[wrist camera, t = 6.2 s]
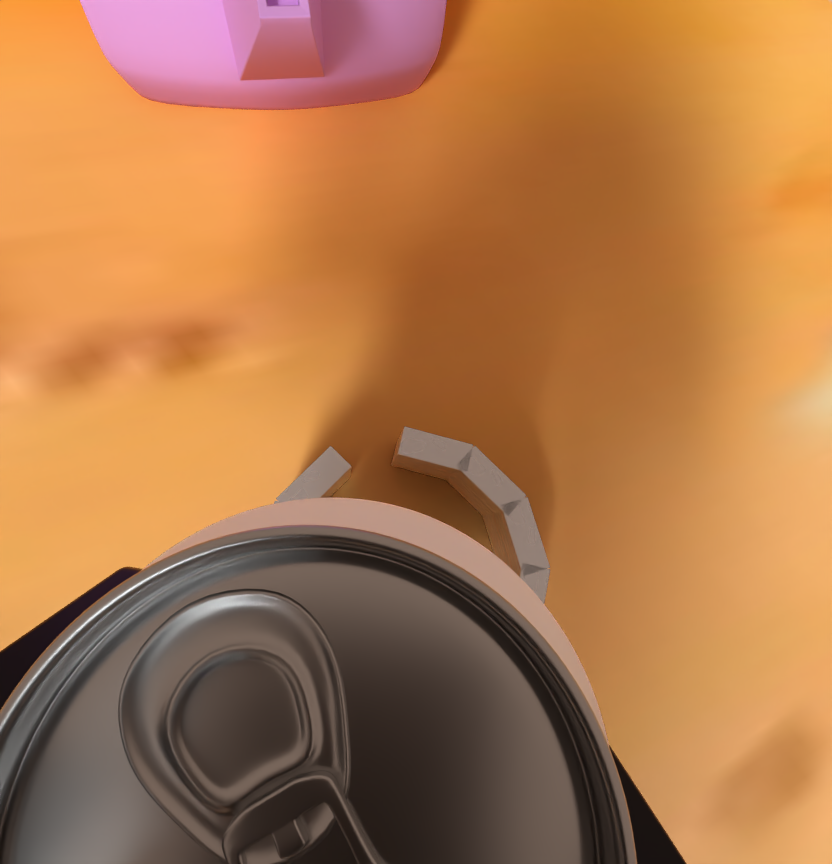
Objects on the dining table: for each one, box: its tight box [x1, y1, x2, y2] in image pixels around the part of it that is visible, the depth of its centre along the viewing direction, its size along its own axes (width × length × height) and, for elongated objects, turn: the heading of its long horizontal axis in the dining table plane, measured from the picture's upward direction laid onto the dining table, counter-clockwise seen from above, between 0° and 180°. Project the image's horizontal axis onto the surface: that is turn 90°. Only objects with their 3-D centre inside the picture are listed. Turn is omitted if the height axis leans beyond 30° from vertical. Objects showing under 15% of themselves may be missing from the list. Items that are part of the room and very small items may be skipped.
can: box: [0, 498, 637, 864], centre depth 10 cm, size 6×6×12 cm
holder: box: [274, 427, 550, 604], centre depth 19 cm, size 10×10×3 cm
